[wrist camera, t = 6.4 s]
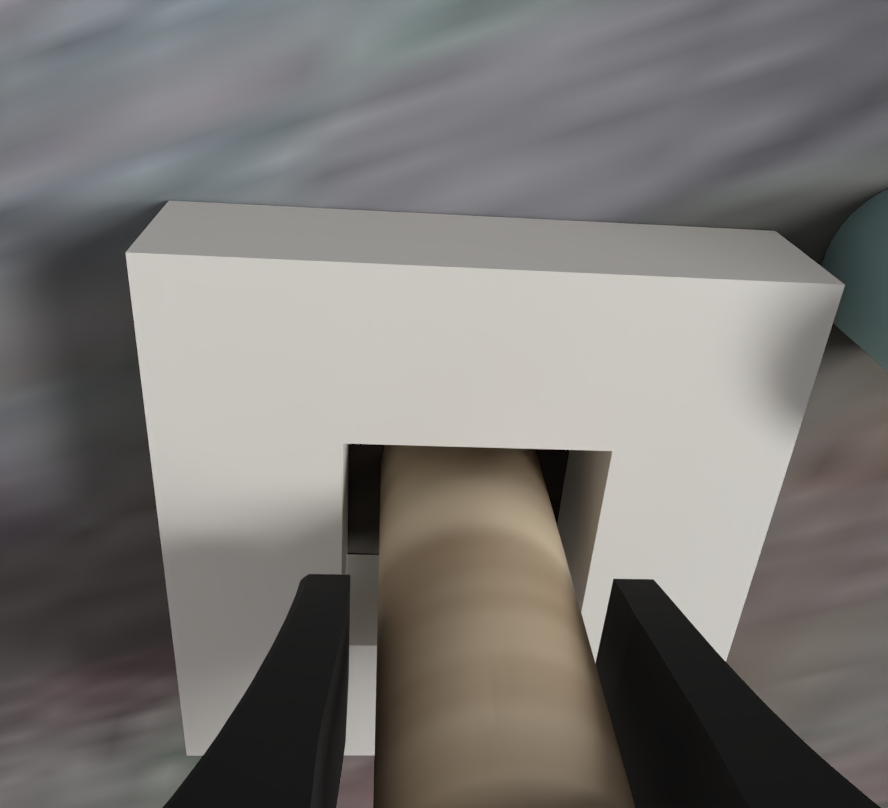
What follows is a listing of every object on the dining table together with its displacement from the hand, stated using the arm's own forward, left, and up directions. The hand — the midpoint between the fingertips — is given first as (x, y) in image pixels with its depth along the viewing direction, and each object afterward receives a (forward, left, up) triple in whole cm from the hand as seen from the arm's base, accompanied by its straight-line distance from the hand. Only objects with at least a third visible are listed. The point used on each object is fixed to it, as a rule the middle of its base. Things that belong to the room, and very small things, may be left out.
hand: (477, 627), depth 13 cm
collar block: (0, 0, -4) cm, 4 cm away
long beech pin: (0, 0, -4) cm, 4 cm away
